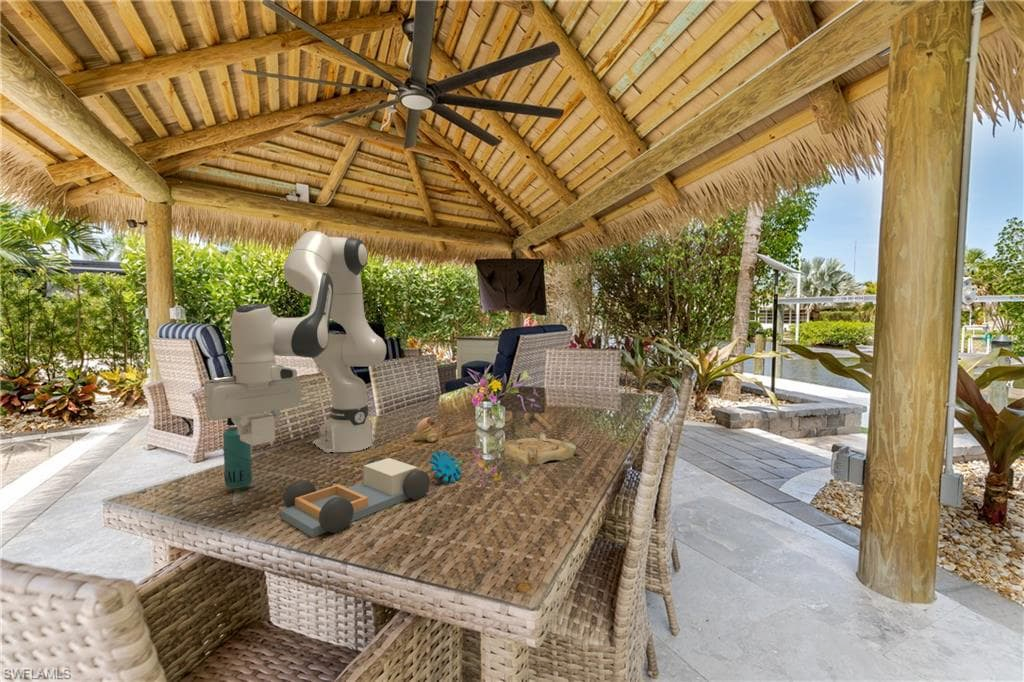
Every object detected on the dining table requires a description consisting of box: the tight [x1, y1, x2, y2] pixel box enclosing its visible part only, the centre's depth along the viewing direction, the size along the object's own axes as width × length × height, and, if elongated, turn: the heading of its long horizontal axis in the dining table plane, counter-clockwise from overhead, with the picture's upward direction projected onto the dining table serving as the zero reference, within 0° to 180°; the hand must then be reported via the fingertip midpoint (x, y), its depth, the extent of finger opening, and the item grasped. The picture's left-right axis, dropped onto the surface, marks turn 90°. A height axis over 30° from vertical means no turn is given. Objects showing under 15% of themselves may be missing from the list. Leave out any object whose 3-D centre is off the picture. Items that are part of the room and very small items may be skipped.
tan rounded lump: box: [411, 416, 440, 443], centre depth 168 cm, size 9×10×10 cm
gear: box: [429, 450, 463, 483], centre depth 132 cm, size 11×6×10 cm
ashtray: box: [501, 432, 578, 466], centre depth 154 cm, size 24×24×5 cm
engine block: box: [239, 412, 276, 446], centre depth 110 cm, size 7×5×6 cm
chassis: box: [280, 456, 431, 539], centre depth 114 cm, size 18×32×7 cm, turn 141°
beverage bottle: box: [222, 418, 253, 489], centre depth 123 cm, size 6×7×20 cm
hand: (257, 431), depth 110 cm, fingers closed on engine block, 5 cm apart
